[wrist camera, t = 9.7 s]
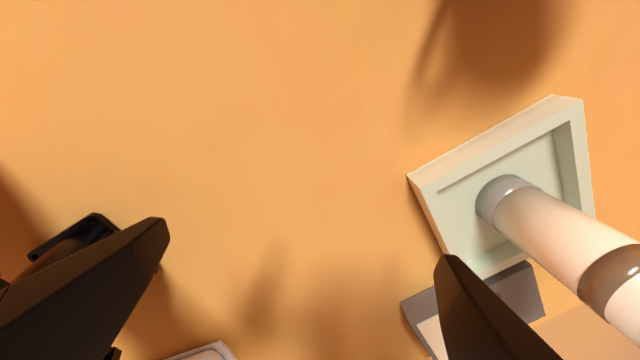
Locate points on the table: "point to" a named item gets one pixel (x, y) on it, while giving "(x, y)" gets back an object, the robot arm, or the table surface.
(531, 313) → the block
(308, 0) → the table surface
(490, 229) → the tray
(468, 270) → the robot arm
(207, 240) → the table surface
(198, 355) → the cream flat fabric square
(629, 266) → the white and grey cylinder
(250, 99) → the table surface
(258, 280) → the table surface
